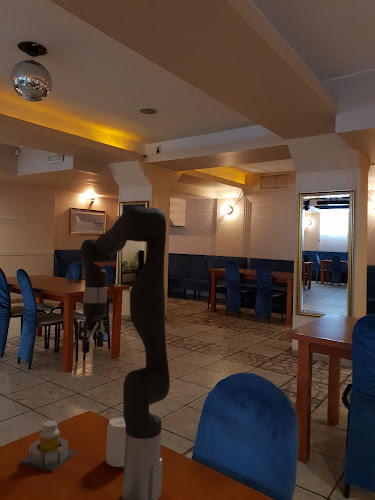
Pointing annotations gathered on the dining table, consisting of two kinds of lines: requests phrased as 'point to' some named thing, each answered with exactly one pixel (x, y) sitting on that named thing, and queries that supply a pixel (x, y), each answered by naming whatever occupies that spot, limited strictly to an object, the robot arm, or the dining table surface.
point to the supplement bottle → (49, 436)
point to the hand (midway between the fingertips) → (93, 349)
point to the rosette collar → (48, 456)
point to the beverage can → (116, 442)
